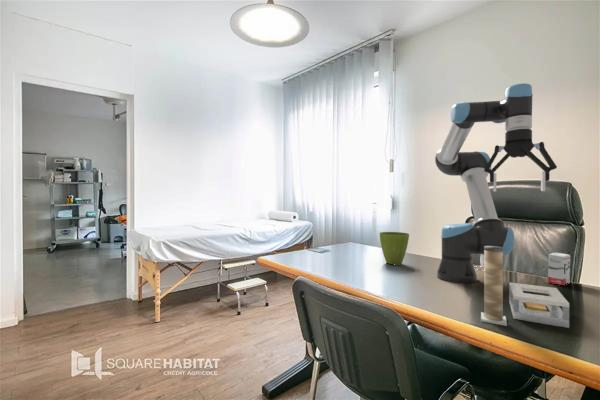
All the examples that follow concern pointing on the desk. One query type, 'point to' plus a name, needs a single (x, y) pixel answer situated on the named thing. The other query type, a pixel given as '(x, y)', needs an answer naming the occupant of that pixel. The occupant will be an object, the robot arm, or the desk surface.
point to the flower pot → (394, 246)
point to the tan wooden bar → (493, 283)
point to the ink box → (559, 268)
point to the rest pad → (493, 320)
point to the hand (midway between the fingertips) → (518, 191)
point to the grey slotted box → (551, 302)
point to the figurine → (481, 260)
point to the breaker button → (535, 306)
